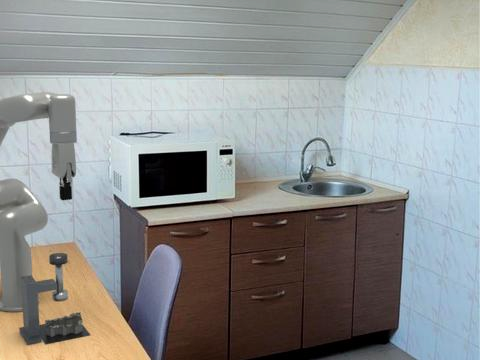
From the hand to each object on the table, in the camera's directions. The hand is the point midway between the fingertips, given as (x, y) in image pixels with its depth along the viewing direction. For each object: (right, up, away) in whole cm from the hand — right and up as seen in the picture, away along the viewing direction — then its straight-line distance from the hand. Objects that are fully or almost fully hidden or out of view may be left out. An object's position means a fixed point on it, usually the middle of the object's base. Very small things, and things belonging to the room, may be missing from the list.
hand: (66, 199), depth 199 cm
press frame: (-3, -39, -3) cm, 39 cm away
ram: (-1, -29, -4) cm, 29 cm away
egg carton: (0, -38, -2) cm, 39 cm away
